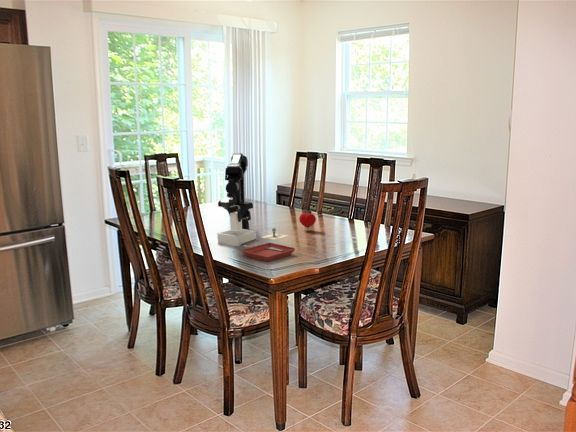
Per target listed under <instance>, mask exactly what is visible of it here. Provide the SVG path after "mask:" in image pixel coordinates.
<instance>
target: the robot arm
mask: <svg viewBox="0 0 576 432" xmlns="http://www.w3.org/2000/svg"><path fill="white" fill-rule="evenodd" d="M248 166H249V161H248V157H247V156H245V155H243V153H242V152H234V153H232V156H231V158H230V163H228V164H227V166H226V167H225V172H224V173H225V176H224V181H227V184H226V185H225V191H226V193H227V194H226V197H224V198H223V199H221V200H219V201H218V202H217V207H220V208H223V209H224V210H226V211H227V213H228V214H229V216H230V213H232V212H238V222H241V219H242V229H247V230H252V229H250V224H249V223H250V222H249V221H251V219H252V217H251V211H250V209H251V210H252V209H253V208H254V203H252V202H249V201H246V200H245V199H246V197H245V195H246V194H245V174H246V172H247V170H248Z"/></svg>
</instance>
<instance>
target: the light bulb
mask: <svg viewBox="0 0 576 432" xmlns="http://www.w3.org/2000/svg"><path fill="white" fill-rule="evenodd" d="M298 219H299V223H300V224H301V225H302V226H304V228H305V231H306V232H307V231H311V227H312V226H313V225H314V224H315V223H316V221H317V218H316V216H315V215H314V214H313V213H307V212H303V213H301V214H300V216H299V218H298Z"/></svg>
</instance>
